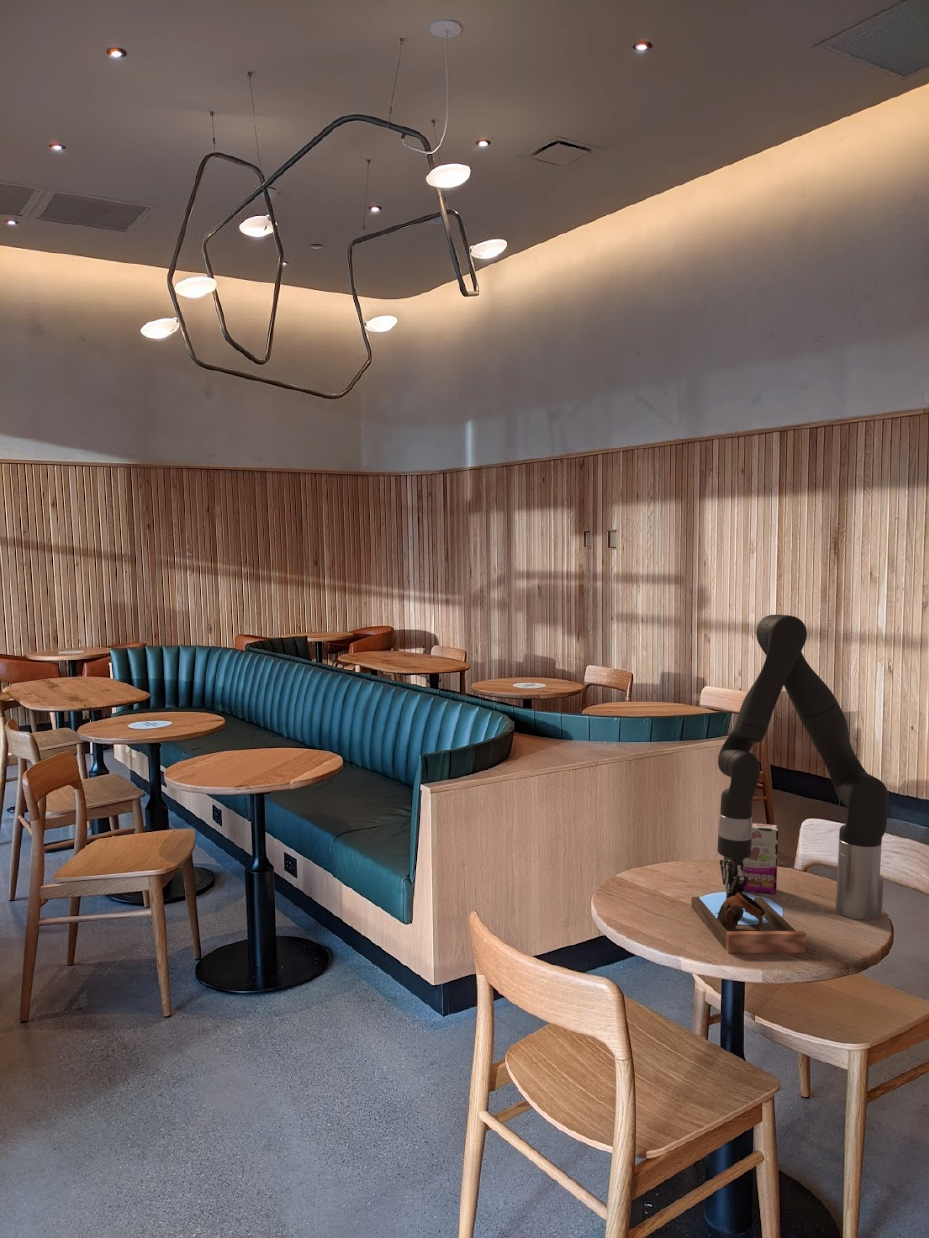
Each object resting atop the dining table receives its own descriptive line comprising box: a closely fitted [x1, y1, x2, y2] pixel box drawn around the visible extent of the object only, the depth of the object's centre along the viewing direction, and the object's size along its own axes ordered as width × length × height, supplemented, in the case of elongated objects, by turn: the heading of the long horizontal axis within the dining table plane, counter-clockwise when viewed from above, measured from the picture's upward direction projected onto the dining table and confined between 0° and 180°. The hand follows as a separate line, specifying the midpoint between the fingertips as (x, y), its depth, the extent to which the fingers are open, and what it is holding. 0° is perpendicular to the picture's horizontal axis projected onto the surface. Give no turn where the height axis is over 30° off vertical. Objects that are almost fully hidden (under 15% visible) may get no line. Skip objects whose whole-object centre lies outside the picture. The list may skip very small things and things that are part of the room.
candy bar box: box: [742, 822, 779, 895], centre depth 236 cm, size 11×5×16 cm, turn 73°
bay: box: [690, 896, 807, 954], centre depth 211 cm, size 17×26×4 cm, turn 3°
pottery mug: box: [716, 892, 765, 931], centre depth 211 cm, size 12×10×8 cm
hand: (731, 907), depth 219 cm, fingers closed
